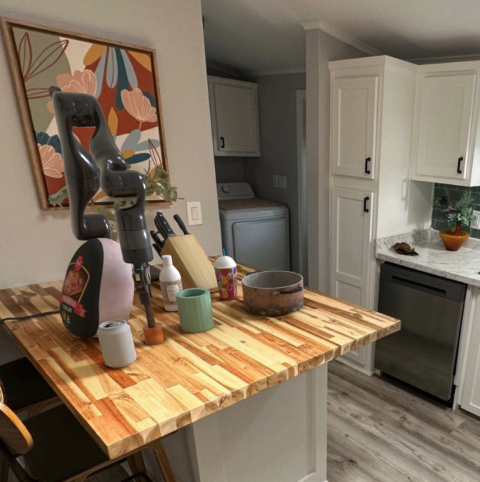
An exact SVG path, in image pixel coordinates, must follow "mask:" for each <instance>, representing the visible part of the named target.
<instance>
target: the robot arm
mask: <svg viewBox="0 0 480 482" xmlns="http://www.w3.org/2000/svg"><path fill="white" fill-rule="evenodd" d="M51 104H52V109H53V114H54V119H55V123H56V128H57V133H58V137H59V142H60V147H61V156H62V165H63V172H64V180H65V184H66V190H67V195H68V202H69V218H70V219H69V221H70V228H71V232H72V235H73V236H74V238H75V239H76V240H77V241H79V242H86V241H88V240H91V239H95V238H107V239H111V240H113V239H112V235H111V234H112V233H111V226H110V222H109V219H108V217H107V216H106V214H104V213H103V212H92V213H91V212H89V213H85V212H86V209H87V207H88V206H89V204H90V203H91V202H92V200H93V199H94V198H95V197H96V196H97V194H98V192H99V191H100V189H101V191H102V193H103V194H104V195H105V196H107V197H108V198H111V199H129V198H130V199H131V200H130V202H129V203H128V204H126V205H123V206H120V207H117V208H115V209H114V219H115V223H116V229H117V233H118V234H117V236H118V237H117V238H118V243H119V244H120V247H121V252H122V257H123V261H124V262H125V263H128V264H131V265H132V266H133V267H132V277H133V281H134V290H135V292H136V294H138V295H139V301H140V305H142V306H144V305H147V304H150V300H149V294H150V299H152V298H153V295H152V294H153V293H152V289H151V288H152V287H151V284H152V283H151V282H152V279H151V274H150V273H151V271H150V269H151V268H150V264H149V263H150V262H152V261H153V260H154V253H153V252H154V251H153V246H152V241H151V235H150V232H149V231H148V226H147V225H148V224H147V221H146V214H145V210H146V209H145V208H146V196H147V188H148V184H147V180H146V178H145V176H144V174H143V173H141V172H140V171H139V170H131V169H130V170H128V163H127V160H126V158H125V157H124V155H123V154H122V152H121V151H120V149H119V147H118V146H117V143H116V142H115V139H114V137H113V134H112V131H111V129H110V126H109V123H108V120H107V118H106V116H105V113H104V110H103V108H102V106H101V104H100V101H98V99H97V97H95V96H94V95H92V94H90V93H87V92H86V93H85V92H75V91H60V90H59V91H57V90H56V91H54V92H53V93H52V96H51ZM73 128H77V129H78V128H79V129H80V128H81V129H92V128H93V129H94V131H93V133H92V135H91V136H90V139H89V140H88V150H86V148H85V147H83V145H82V144H81V143H80V141H78V138H77V137H76V136H75V135H74V132H73ZM147 285H148V287H147ZM140 286H143V288H140ZM148 289H149V294H148ZM50 314H60V309H59V310H51V311H44V312H40V313H35V314H30V315H26V316H16V317H15V316H13V317H11V316H10V317H9V316H8V317H3V318H2V319H0V325H1V324H2V323H4V322H6V321H21V320H28V319H31V318H36V317H40V316H46V315H50Z"/></svg>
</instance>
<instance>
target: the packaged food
mask: <svg viewBox="0 0 480 482" xmlns="http://www.w3.org/2000/svg"><path fill="white" fill-rule="evenodd" d="M111 239H112V238H111ZM111 239H107V238H95V239H91V240H88V241H84V242H83V243H82V244H80V246H79V247H78V248H77V249H76V251H75V252H74V254H73V255H72V257H71V259H70V261H69V263H68V266H67V267H66V270H65V271H66V272H65V274H64V275H65V276H64V280H63V284H62V288H61V292H60V297H59V310H60V313H59V315H60V318H61V322H62V324H63V326H64V328H65V329H66V331H68V332H69V334H72V335H73V336H74V337H76V338H82V339H93V338H98V334H97V331H98V329H99V325H100V324H101V323H103V322H106V321H110V320H125V321H126V324H128V323H129V319H130V315H131V311H132V307H133V303H134V302H133V301H134V295H135V294H134V293H135V285H134V281H133V277H132V269H133V267H132V264H128V263H125V262H124V261H123V257H122V252H121V247H120V243H119V242H117V241H115V240H113V239H112V240H111Z"/></svg>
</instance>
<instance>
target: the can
mask: <svg viewBox="0 0 480 482" xmlns="http://www.w3.org/2000/svg"><path fill="white" fill-rule="evenodd" d="M97 334H98V337H97V338H98V342H99V345H100V349H101V353H102V357H103V361H104V364H105V366H108V367H110V368H113V369H119V368H125V367H127V366H130V365H132V364H133V363H134V361H136V359H137V352H136V348H135V343H134V339H133V334H132V330H131V325H129V324H128V323H127V324H126V321H125V320H110V321H106V322H103V323H101V324H100V325H99V329H98V331H97Z"/></svg>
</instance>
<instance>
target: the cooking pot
mask: <svg viewBox="0 0 480 482" xmlns="http://www.w3.org/2000/svg"><path fill="white" fill-rule="evenodd" d="M241 289H242V299H243V307H244V309H245V311H247V313H250V314H253V315H255V316H262V317H277V316H284V315H285V316H286V315H290V314H293V313H295V312H298V311H299V310H300V309H302V308H303V306H304V304H305V295H304V293H305V292H304V277H303V275H301V274H299V273H297V272H294V271H289V270H288V271H286V270H266V271H265V270H254V271H250V272H246V273H245V276H244V277H243V278H242V279H241Z"/></svg>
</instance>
